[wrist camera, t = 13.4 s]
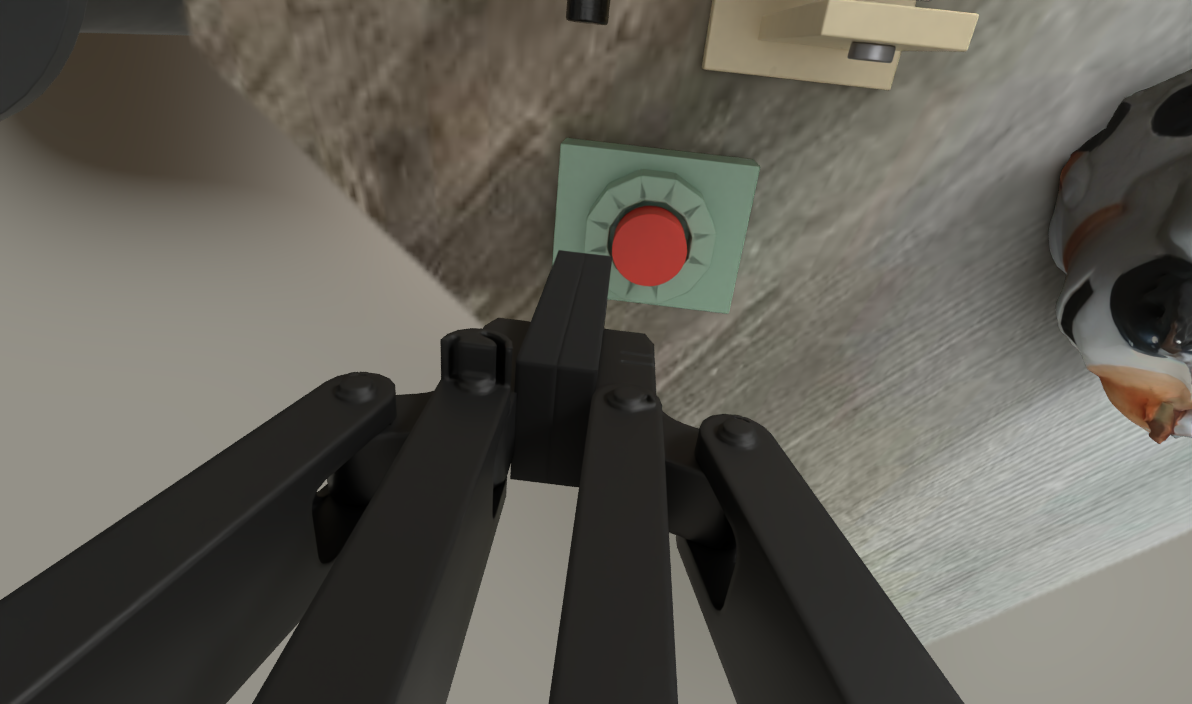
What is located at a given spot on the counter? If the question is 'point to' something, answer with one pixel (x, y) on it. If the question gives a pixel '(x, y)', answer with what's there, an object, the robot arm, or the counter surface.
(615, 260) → the red button
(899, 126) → the counter surface
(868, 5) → the beige lever stand
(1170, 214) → the lucky cat figurine
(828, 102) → the counter surface
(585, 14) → the lever handle
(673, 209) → the block
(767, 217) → the counter surface
